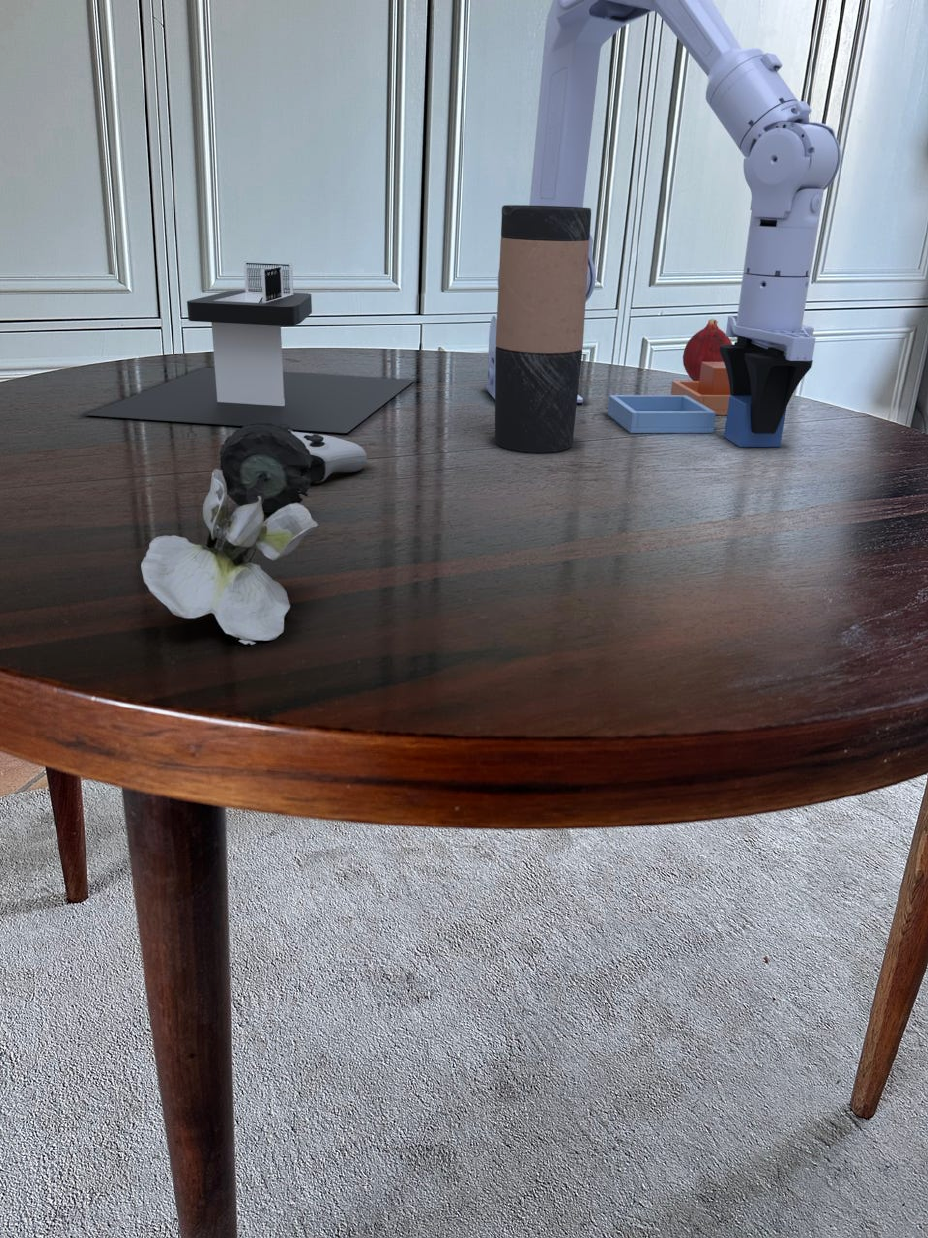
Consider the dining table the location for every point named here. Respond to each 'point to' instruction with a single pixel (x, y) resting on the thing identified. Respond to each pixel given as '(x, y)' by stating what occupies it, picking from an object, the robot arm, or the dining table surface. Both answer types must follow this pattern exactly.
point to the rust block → (713, 379)
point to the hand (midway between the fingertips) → (753, 427)
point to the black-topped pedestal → (258, 369)
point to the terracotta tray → (701, 396)
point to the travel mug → (540, 325)
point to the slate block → (747, 425)
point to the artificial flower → (239, 537)
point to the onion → (704, 348)
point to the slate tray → (661, 414)
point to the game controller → (330, 455)
